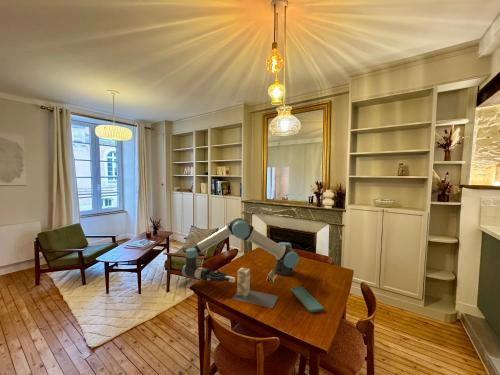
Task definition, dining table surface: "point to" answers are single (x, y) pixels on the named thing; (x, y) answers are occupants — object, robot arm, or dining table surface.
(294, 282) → the dining table surface
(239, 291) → the birch block
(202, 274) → the robot arm
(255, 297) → the rubber mat
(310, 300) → the shallow long dish
